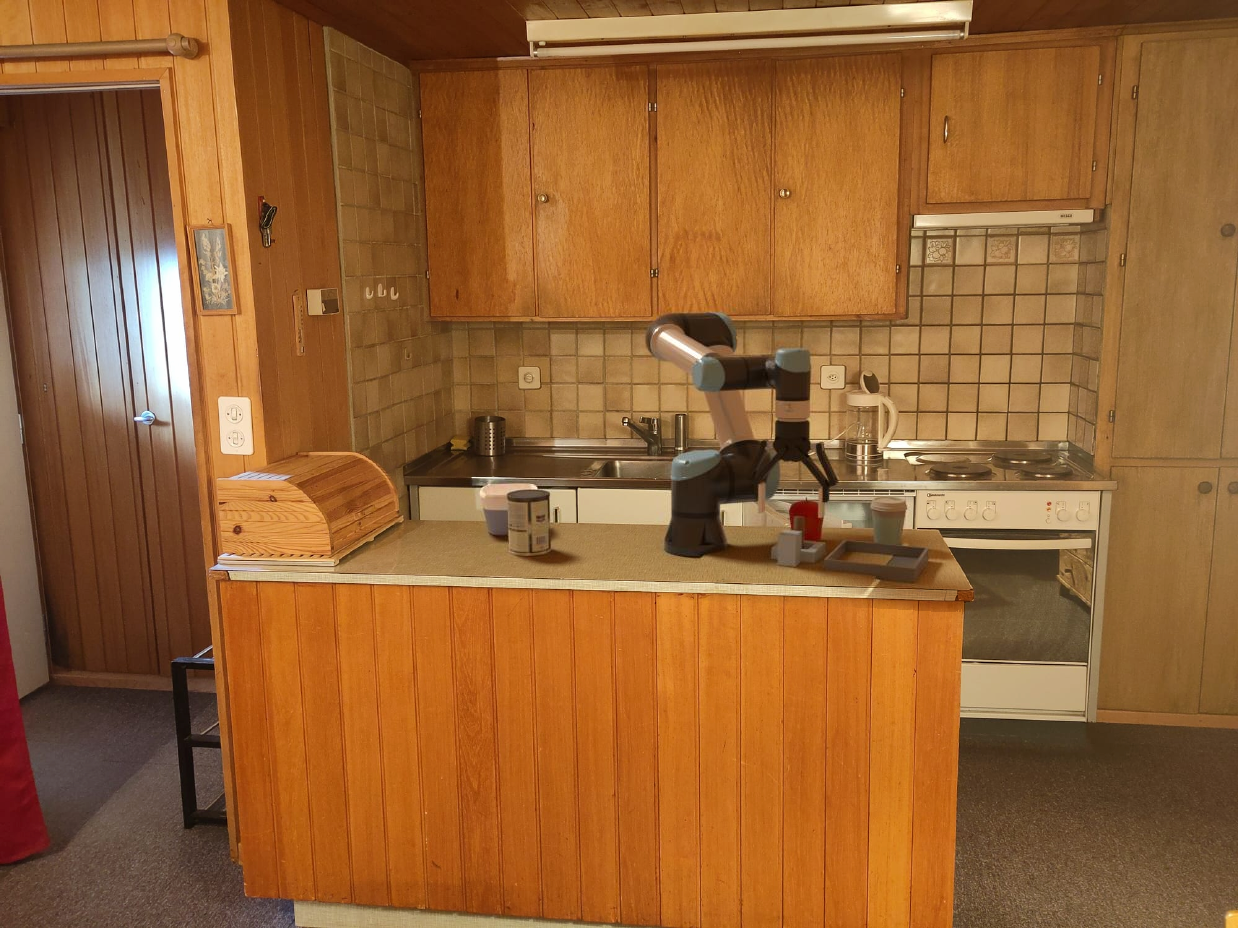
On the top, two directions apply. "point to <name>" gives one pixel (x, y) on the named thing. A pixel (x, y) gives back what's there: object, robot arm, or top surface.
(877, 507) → the coffee cup
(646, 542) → the top surface
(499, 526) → the plastic food container
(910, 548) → the tray
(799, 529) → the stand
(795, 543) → the ring
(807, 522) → the apple
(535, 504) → the coffee can
